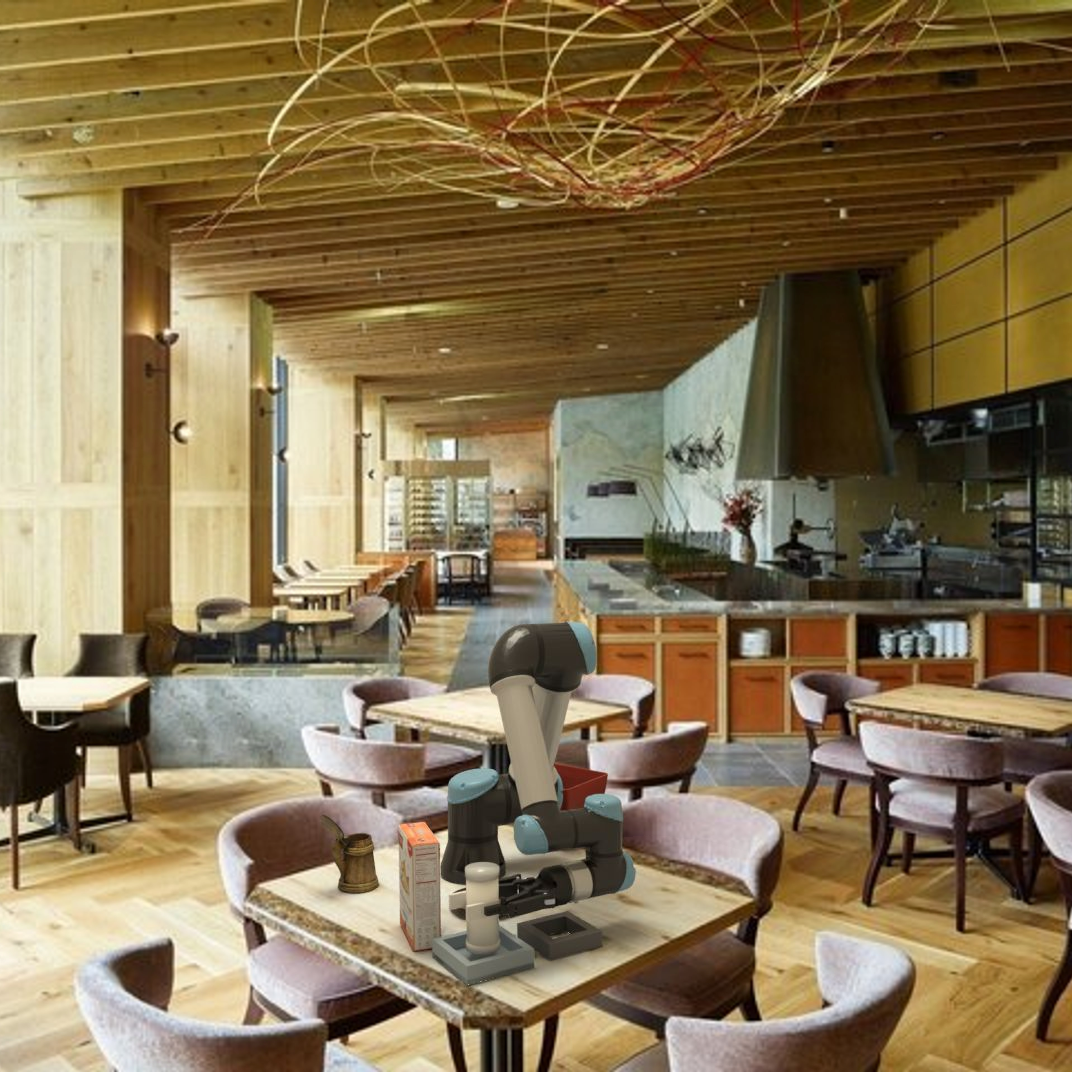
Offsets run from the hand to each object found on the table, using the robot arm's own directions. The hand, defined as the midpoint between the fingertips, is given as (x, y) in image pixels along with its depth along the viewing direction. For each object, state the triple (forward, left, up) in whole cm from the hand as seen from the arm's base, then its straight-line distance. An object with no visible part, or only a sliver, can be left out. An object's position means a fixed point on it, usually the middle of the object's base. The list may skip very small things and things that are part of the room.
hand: (458, 907), depth 190 cm
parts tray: (0, +5, -11) cm, 12 cm away
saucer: (-23, +18, -12) cm, 32 cm away
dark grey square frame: (0, +22, -11) cm, 25 cm away
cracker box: (-17, 0, -12) cm, 21 cm away
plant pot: (-53, +56, -12) cm, 78 cm away
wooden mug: (-49, -2, -12) cm, 51 cm away
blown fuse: (0, +5, -9) cm, 10 cm away
